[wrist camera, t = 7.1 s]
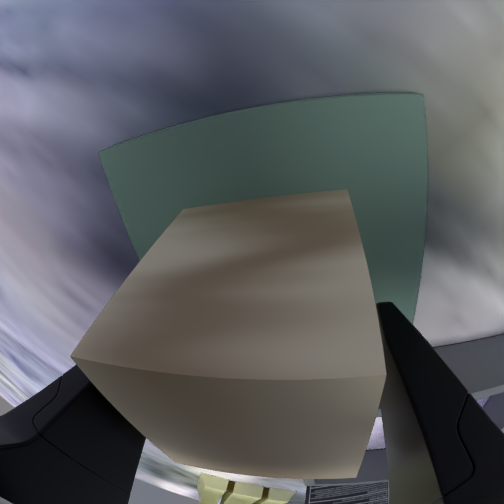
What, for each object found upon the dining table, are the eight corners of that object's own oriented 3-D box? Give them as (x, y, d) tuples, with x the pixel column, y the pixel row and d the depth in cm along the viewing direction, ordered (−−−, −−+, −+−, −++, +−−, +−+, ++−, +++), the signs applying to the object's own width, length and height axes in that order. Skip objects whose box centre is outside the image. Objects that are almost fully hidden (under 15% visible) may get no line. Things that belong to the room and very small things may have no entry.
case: (540, 324, 10) (560, 364, 8) (466, 436, 17) (470, 464, 15) (278, 359, 14) (270, 412, 12) (302, 455, 21) (298, 485, 19)
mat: (411, 92, 7) (423, 94, 6) (402, 336, 12) (406, 352, 11) (114, 145, 10) (98, 152, 9) (194, 343, 15) (188, 358, 14)
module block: (347, 188, 8) (386, 374, 3) (352, 318, 11) (356, 477, 6) (183, 209, 9) (70, 356, 4) (223, 323, 12) (175, 462, 7)
